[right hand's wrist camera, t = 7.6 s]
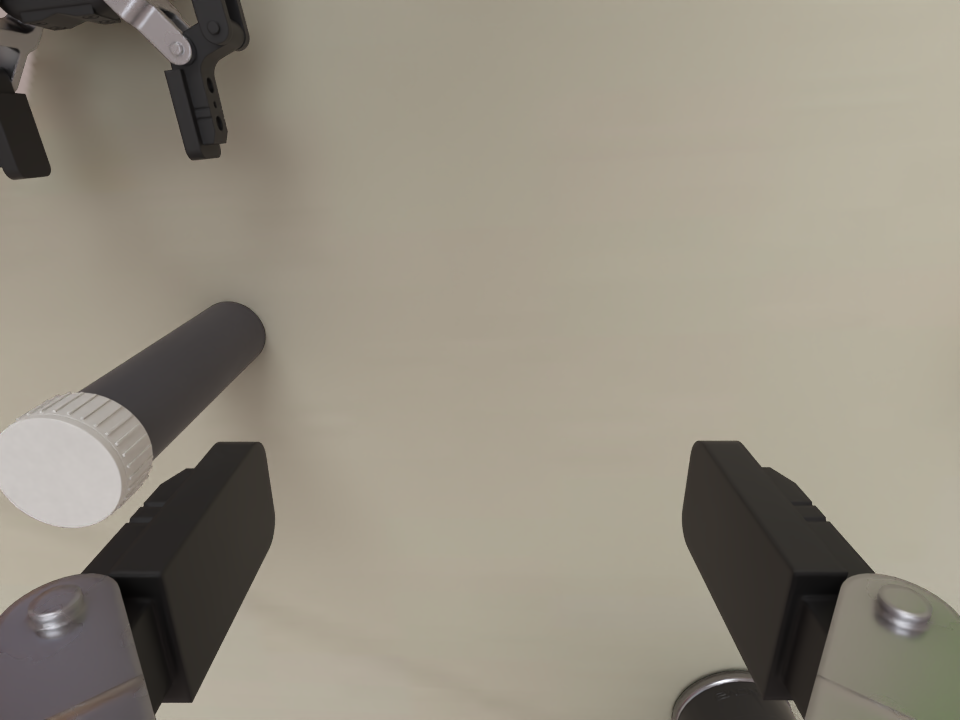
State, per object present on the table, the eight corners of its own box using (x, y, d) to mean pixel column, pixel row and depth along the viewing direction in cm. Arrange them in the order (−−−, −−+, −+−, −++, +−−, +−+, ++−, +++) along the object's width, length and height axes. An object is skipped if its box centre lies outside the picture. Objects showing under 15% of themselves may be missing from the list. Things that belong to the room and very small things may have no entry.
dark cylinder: (238, 375, 39) (81, 533, 24) (186, 331, 38) (-14, 467, 23) (279, 334, 38) (141, 471, 23) (227, 287, 37) (46, 399, 22)
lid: (110, 516, 26) (76, 551, 24) (8, 442, 24) (-37, 472, 22) (179, 447, 24) (149, 477, 22) (75, 366, 23) (33, 390, 21)
